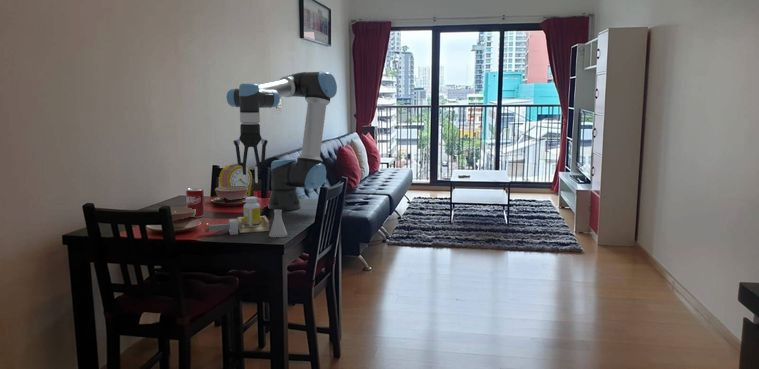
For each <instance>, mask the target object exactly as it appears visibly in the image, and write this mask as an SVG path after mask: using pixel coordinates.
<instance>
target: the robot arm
mask: <svg viewBox="0 0 759 369" xmlns="http://www.w3.org/2000/svg"><path fill="white" fill-rule="evenodd" d="M337 91H338V85H337V81H336V78H335V76H334V75H333V74H332V73H331V72H329V71H328V72H327V71H302V72H301V71H300V72H296V73H292V74H289V75H286V76H282V77H280V79H278V80H274V81H268V82H265V83H259V84H258V83H241V84H239V88H231V89H229V90H227V92H226V102H227V104H228V105H229V106H230V107H233V108H239V121H240V122H239V123H240V125H239V126H240V128H239V130H240V131H239V134H240V135H239V138H238V139H236V140H233V144H234V146H235V153H236V161H237V162H236V163H238V165H240V166H242V167H243V175H246V183H248V169H249V166H247V160H248V151H249V148H253V152H254V157H255V162H256V165H254V183H255V184H258V179H259V178H258V177H259V176H258V175H261V167H262V166H264V165H265V163H266V148H267V144H268V140H267V139H264V138H263V137H262V135H261V125H260V124H259V123H260V122H261V121H260V118H261V117H260V108H265V109H267V108H269V109H271V108H276V107H277V106H279V104H280V100H281V97H282V98H284V97H285V98H292V97H296V98H297V97H298V98H304V100H305V101H306V103H307V106H306V115H305V121H304V123H305V124H304V130H303V137H302V147H301V152H300V153H301V154H300V155H299V156H297V159H296V158H292V157H291V158H284V159H277V160H273V161H272V162H271V164H270V178H271V180H270V181H271V182H270V183H271V193H270V195H269V200H268V203H267V206H268V210H272V211H274V210H282V212H283V211H294V210H298V209H301V207H302V206H301V199H300V198H299V195H298V190H297V188H301V189H308V190H309V189H310V190H312V189H315V190H317V189H319V188H320V187H321V186H322V185H323V184H324V183H325V180H326V178H327V169H326V165H325V164H323V163H324V161H323V159H322V157H321V150H322V142H323V136H324V128H325V120H326V110H327V106H328V105H329V104H330V103H331V99H333V98H334V97H336V94H337ZM260 142H261V155H260V156H261V159H260V156H259V151H258V145H259V144H260ZM240 143H242V144H243V146H244V148H243V156H242V160H241V151H240Z"/></svg>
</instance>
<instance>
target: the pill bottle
mask: <svg viewBox="0 0 759 369" xmlns="http://www.w3.org/2000/svg"><path fill="white" fill-rule="evenodd" d="M242 209H243V217H244V226H246V227H258V226H260V216H261V204H260V203H259V202H258V196H250V197H246V198H245V204H243V208H242Z"/></svg>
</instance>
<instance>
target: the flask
mask: <svg viewBox="0 0 759 369" xmlns="http://www.w3.org/2000/svg"><path fill="white" fill-rule="evenodd" d="M282 212H283V211H282V210H273V213H274V215H273V221H272V224H271V227H270V229H269V230H270V231H269V233H268V236H269V237H270V238H276V237H277V238H278V237H279V238H286V237H287V236H289V233H288V232H287V229H286V225H285V224H284V220H283V217H282ZM279 238H278V239H279Z"/></svg>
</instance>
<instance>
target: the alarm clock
mask: <svg viewBox="0 0 759 369" xmlns="http://www.w3.org/2000/svg"><path fill="white" fill-rule="evenodd" d="M252 174H253V173H252V172H251V170H250V168H248V183H246V175H243V167H242V166H240V165H238V162H233V163H230V164H227V165H225V166H224V167H223V168H222V169H221V170H220V173H219V177H218V183H219V187H228V186H230V187H231V186H246V187H248V194H247V196H250V197H251V193H252V185H253V175H252Z"/></svg>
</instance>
